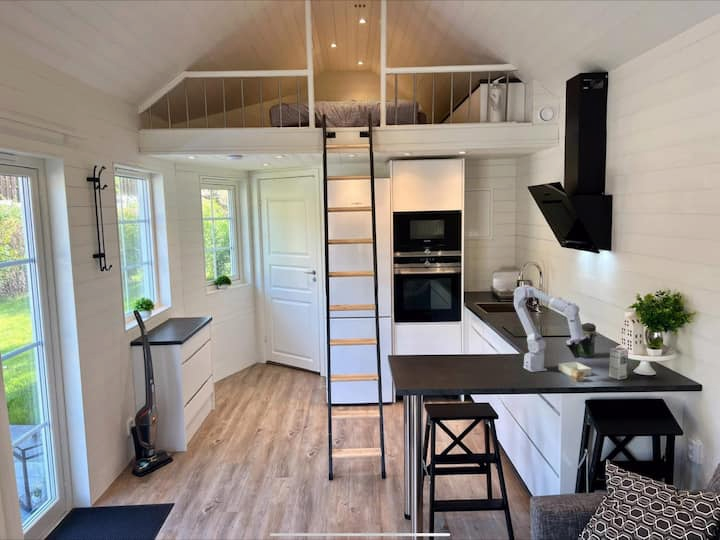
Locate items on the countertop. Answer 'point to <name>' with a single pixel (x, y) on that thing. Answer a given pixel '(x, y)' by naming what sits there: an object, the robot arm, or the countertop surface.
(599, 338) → the countertop surface
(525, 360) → the robot arm
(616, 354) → the syrup box
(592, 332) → the coffee jar
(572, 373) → the beech block
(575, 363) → the white tub
